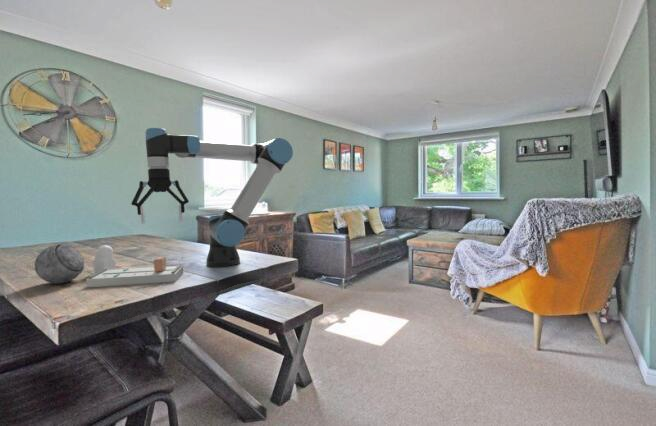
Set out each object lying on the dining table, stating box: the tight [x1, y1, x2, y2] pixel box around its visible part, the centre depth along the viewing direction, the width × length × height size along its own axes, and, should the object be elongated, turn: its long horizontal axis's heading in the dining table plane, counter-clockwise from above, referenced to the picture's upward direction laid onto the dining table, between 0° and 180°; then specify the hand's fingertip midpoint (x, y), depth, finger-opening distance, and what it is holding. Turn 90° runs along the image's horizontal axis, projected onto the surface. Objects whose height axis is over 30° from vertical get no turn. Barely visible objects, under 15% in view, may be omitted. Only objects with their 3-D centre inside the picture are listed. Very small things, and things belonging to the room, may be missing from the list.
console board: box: [85, 264, 184, 288], centre depth 130 cm, size 30×14×4 cm, turn 102°
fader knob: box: [153, 256, 167, 272], centre depth 131 cm, size 3×5×5 cm, turn 12°
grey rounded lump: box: [34, 243, 85, 284], centre depth 126 cm, size 15×14×15 cm
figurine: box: [93, 244, 117, 274], centre depth 140 cm, size 7×8×12 cm
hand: (162, 222), depth 132 cm, fingers open, 13 cm apart
